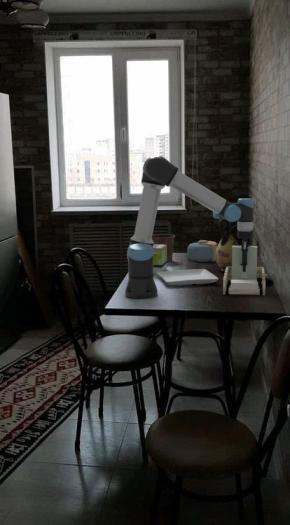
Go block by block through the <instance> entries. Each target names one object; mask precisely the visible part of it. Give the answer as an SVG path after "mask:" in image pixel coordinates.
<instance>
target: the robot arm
mask: <svg viewBox="0 0 290 525" xmlns="http://www.w3.org/2000/svg"><path fill="white" fill-rule="evenodd" d="M140 180H141V182H140V184H142V186H143V187H142V192H141V198H140V203H139V209H138V212H137V213H138V214H137V219H136V224H135V229H134V234H133V236H132V237H130V239H129V245H128V247H127V250H126V257H127V261H128V262H127V263H128V266H127V267H128V268H127V269H128V280H127V283H126V286H125V291H124V293H125V294H124V295H125V297H126V298H129V299H142V300H144V299H151V298H155V297H157V296H158V288H157V285H156V281H155V278H154V277H155V276H154V274H155V273H154V272H153V254H154V252H153V245H154V242H153V240H152V235H154V227H155V222H156V218H157V212H158V207H159V203H160V202H159V201H160V198H161V192H162V190H163V189H164V188H165V187H167V188H169V187H172V188H174V189H175V190H177V191H178V192H179V193H182V194H183V195H185V196H187V197H188V198H190V199H191V200H193V201H195V202H196V203H199V204H200V205H201V206H203V207H204V208H207V209H208V210H210V211H211V212H212V216H213V219H217V220H218V219H219V220H220V219H226V220H228V221H229V222H236V223H237V225H236V226H237V233H236V236H237V239H240V240H242V241H240V246H241V247H242V249H241V251H242V264H240V265H242V268H241V278H247V251H248V249H247V247H248V246H250V242H249V241H248V240H251V239H254V231H253V229H254V226H255V223H254V210H255V207H254V204H255V203H254V199H253V198H238V199H237V202H230V201H229V200H227V199H225V198H224V197H222V196H220V195H219V194H217V193H215V192H214V191H212V190H210V189H209V188H207V187H206V186H203V185H202V184H201V183H199V182H197V181H196V180H194V179H192V178H191V177H189V176H188V175H186V174H184V173H183V172H181V171H180V168H179V167H177V166H176V165H174V164H173V163H172V162H170V161H169V160H168V159H167V158H165V157H164V156H161V155H153V156H150V157H148V158H147V159H146V160H145V161H144V163H143V166H142V174H141V179H140Z"/></svg>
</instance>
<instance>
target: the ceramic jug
mask: <svg viewBox="0 0 290 525" xmlns="http://www.w3.org/2000/svg"><path fill="white" fill-rule="evenodd" d="M223 223H225V225H224V226H223ZM236 226H237V221H235V222H229V221H228V220H226V219H219V221H218V229H219V233H220V235H221V239H220V241H219V243H217V249H216V253H215V260H216V261H215V263H216V264H217V265H218V266H219V268H220V270H221V272H225V270H226V267H232V246H240V244H239V243H238V241H237V239H236V237H234V236H233V233H232V229H233V228H235V227H236Z"/></svg>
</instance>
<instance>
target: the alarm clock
mask: <svg viewBox="0 0 290 525" xmlns="http://www.w3.org/2000/svg"><path fill="white" fill-rule="evenodd" d="M217 246H218V243H217V242H215V241H212V240H207V239H206V240H205V239H204V240H203V239H200V240H198V242H193V243H190V244H189V245H188V246H187V258H188V260H189V261H190V262H204V263H205V262H206V263H207V262H216V260H215V253H216V249H217Z"/></svg>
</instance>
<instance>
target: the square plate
mask: <svg viewBox="0 0 290 525" xmlns="http://www.w3.org/2000/svg"><path fill="white" fill-rule="evenodd" d="M155 274H157V276H159V278H160V279H162V280H163V281H164V282H165V284H166V285H168V286H172V287H174V286H178V287H179V286H192V284H196V285H206V284H212V283H215V282H217V281H218V280H219V278H218V277H217V275H215V274H213V273H212V272H210V271H209V270H207V269H205V268H198V269H177V270H176V269H175V270H173V269H172V270H165V271H162V272H156V273H155Z"/></svg>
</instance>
